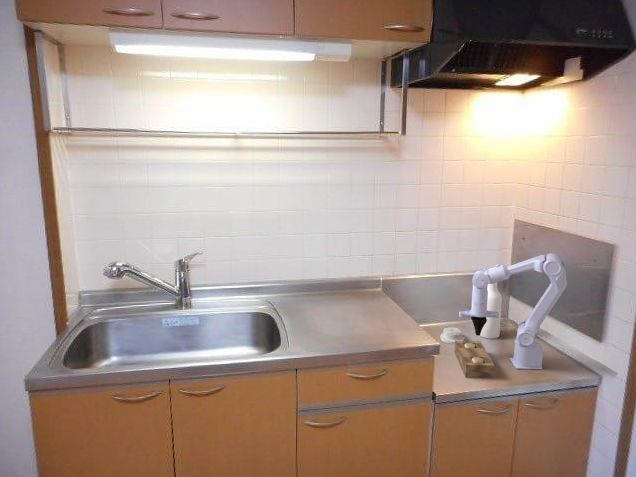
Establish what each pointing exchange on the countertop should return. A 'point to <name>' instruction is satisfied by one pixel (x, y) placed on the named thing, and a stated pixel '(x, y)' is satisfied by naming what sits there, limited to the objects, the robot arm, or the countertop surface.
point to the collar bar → (468, 366)
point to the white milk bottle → (494, 304)
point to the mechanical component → (451, 335)
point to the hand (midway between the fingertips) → (477, 334)
